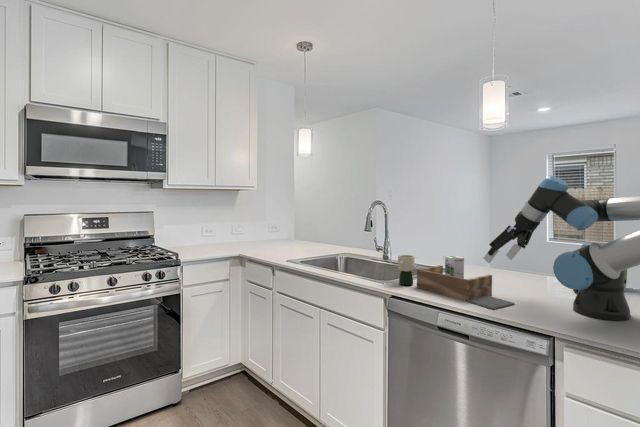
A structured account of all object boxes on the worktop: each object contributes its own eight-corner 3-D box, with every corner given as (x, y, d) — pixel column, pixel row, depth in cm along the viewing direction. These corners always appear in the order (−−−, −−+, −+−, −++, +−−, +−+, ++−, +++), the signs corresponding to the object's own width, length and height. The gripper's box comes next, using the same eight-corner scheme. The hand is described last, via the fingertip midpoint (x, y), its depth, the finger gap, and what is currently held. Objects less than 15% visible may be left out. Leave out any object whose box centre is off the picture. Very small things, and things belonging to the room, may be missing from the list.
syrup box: (443, 289, 151) (444, 255, 151) (456, 288, 152) (456, 255, 152) (451, 293, 146) (451, 258, 145) (464, 292, 147) (464, 257, 146)
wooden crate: (439, 282, 163) (439, 265, 163) (491, 295, 143) (492, 275, 142) (416, 287, 155) (416, 269, 154) (468, 301, 134) (468, 280, 134)
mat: (514, 304, 130) (514, 303, 130) (493, 310, 124) (493, 308, 124) (485, 296, 140) (485, 295, 140) (464, 301, 135) (464, 299, 135)
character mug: (404, 281, 167) (404, 253, 166) (418, 283, 162) (418, 255, 161) (393, 285, 158) (393, 256, 158) (407, 288, 154) (407, 258, 153)
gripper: (542, 209, 135) (510, 249, 147) (500, 210, 123) (469, 255, 135) (559, 221, 130) (524, 262, 142) (517, 224, 118) (483, 269, 130)
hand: (497, 259), depth 138 cm, fingers open, 13 cm apart
